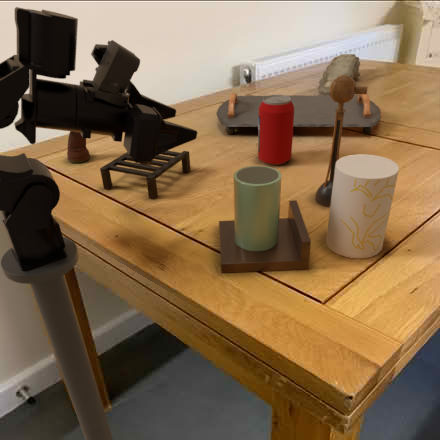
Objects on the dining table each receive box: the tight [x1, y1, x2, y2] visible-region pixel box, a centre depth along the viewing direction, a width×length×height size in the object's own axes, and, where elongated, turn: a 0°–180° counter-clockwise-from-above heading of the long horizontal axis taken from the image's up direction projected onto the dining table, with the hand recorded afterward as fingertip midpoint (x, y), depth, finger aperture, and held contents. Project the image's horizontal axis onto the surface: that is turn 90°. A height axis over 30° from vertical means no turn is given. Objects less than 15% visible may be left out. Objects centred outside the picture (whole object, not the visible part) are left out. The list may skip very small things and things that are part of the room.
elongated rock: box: [317, 53, 361, 96], centre depth 135 cm, size 35×5×10 cm
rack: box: [99, 150, 191, 200], centre depth 88 cm, size 13×11×4 cm
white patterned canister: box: [325, 153, 400, 259], centre depth 66 cm, size 8×8×12 cm
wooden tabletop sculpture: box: [314, 75, 368, 208], centre depth 74 cm, size 6×5×20 cm
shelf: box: [218, 199, 312, 274], centre depth 68 cm, size 12×12×4 cm
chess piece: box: [66, 131, 91, 164], centre depth 96 cm, size 5×5×10 cm
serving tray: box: [216, 92, 382, 136], centre depth 112 cm, size 39×23×6 cm, turn 84°
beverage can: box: [257, 94, 294, 166], centre depth 91 cm, size 7×7×12 cm
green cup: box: [232, 165, 283, 251], centre depth 65 cm, size 6×6×10 cm
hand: (185, 123), depth 67 cm, fingers open, 9 cm apart
